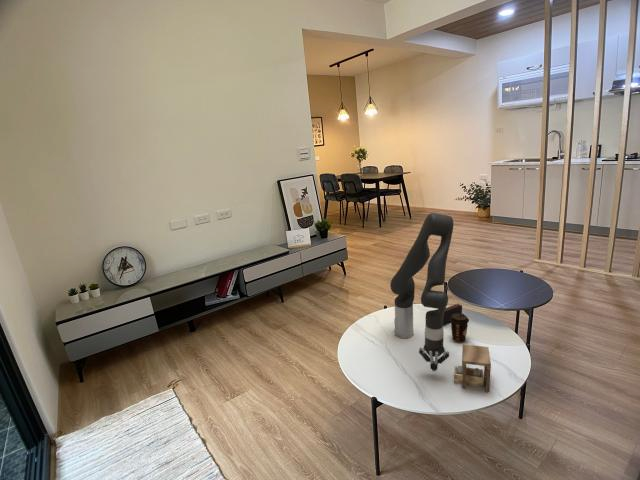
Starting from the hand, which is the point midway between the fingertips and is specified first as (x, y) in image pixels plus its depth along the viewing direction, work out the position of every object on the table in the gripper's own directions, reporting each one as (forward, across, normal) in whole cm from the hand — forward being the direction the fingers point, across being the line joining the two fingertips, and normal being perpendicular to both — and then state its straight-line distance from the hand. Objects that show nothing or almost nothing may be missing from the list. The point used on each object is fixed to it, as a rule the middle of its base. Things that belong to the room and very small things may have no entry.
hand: (433, 369), depth 154 cm
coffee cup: (+3, -10, -31) cm, 32 cm away
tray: (+2, -14, 0) cm, 14 cm away
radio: (+3, -4, -47) cm, 47 cm away
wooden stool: (+2, -17, 0) cm, 17 cm away
